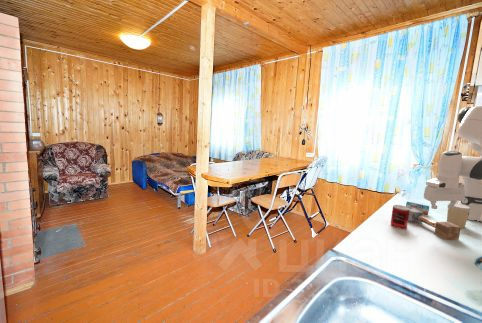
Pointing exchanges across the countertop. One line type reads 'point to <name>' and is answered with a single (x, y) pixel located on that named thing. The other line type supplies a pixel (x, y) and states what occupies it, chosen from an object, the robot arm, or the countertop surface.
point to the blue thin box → (418, 207)
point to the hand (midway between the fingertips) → (442, 208)
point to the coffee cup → (458, 215)
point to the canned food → (400, 216)
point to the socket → (447, 230)
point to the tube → (427, 221)
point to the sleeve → (414, 215)
